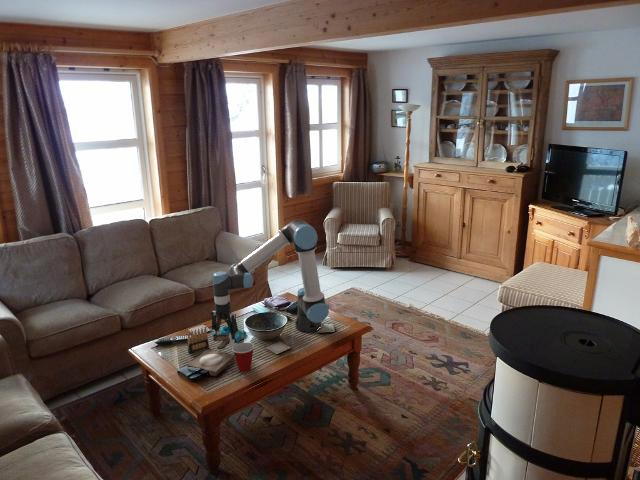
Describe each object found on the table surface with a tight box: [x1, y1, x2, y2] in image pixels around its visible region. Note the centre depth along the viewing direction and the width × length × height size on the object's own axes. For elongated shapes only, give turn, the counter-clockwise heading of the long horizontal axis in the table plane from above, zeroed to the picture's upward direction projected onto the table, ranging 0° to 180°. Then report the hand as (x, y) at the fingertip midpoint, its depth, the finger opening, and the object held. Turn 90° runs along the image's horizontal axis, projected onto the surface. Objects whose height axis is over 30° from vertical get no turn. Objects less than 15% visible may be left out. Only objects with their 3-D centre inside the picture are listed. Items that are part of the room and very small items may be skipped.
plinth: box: [187, 349, 235, 377], centre depth 235 cm, size 16×16×3 cm
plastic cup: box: [231, 342, 255, 373], centre depth 229 cm, size 11×11×12 cm
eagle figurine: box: [212, 332, 230, 350], centre depth 245 cm, size 8×7×9 cm
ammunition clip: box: [187, 326, 210, 354], centre depth 248 cm, size 11×2×12 cm, turn 123°
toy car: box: [212, 325, 248, 343], centre depth 264 cm, size 11×18×7 cm, turn 66°
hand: (226, 343), depth 247 cm, fingers closed on eagle figurine, 7 cm apart
